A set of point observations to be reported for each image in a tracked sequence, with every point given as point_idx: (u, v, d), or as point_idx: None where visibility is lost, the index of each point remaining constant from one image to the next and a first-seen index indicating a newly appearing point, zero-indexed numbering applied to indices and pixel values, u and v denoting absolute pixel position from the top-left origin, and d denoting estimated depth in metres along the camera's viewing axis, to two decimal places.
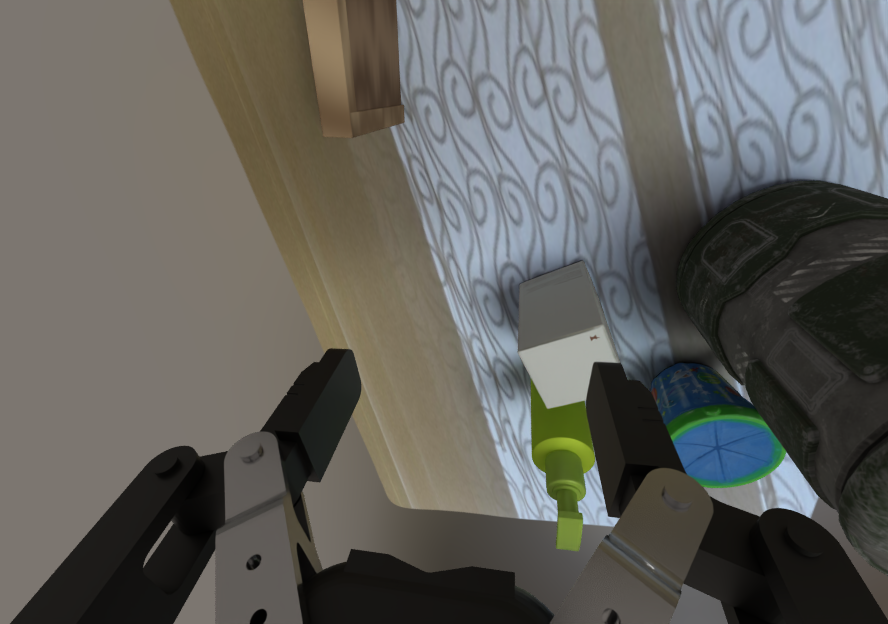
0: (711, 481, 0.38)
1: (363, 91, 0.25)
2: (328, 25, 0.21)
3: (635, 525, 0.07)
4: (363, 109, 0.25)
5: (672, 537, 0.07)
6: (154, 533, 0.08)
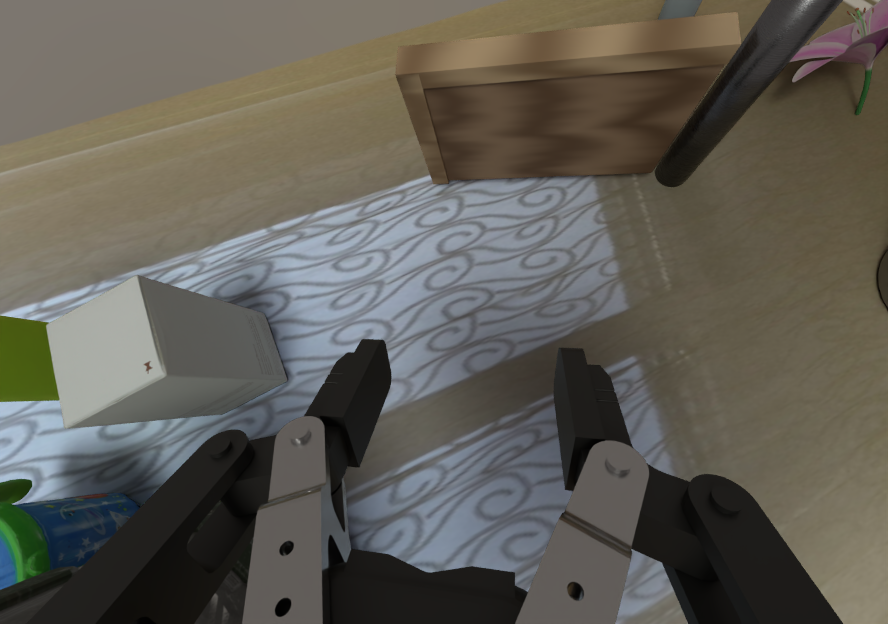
0: None
1: (445, 108, 0.25)
2: (492, 56, 0.21)
3: (586, 498, 0.07)
4: (429, 105, 0.24)
5: (618, 503, 0.07)
6: (200, 514, 0.08)
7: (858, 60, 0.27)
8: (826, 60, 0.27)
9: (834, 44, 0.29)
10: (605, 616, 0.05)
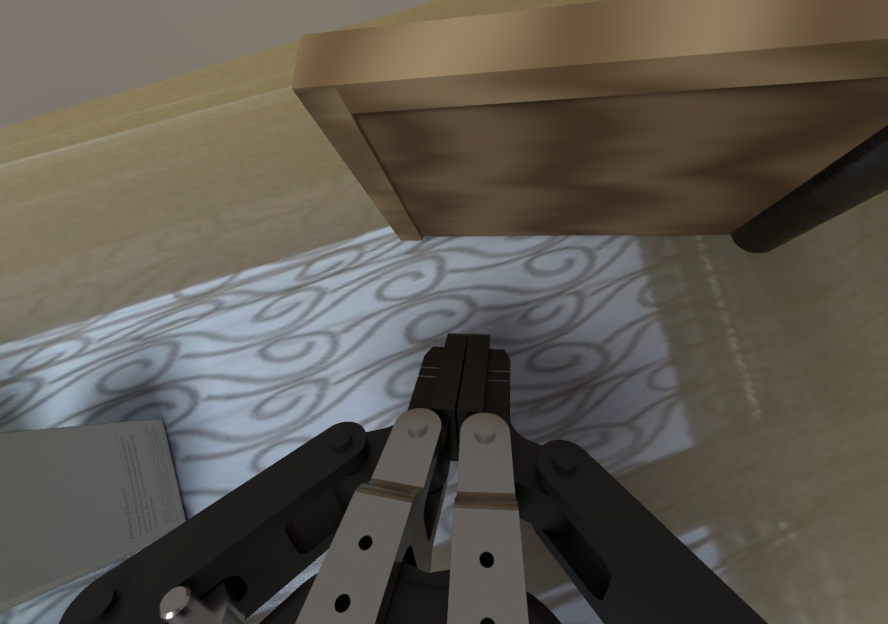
0: None
1: (399, 144, 0.14)
2: (476, 53, 0.11)
3: (469, 474, 0.08)
4: (369, 140, 0.14)
5: (495, 465, 0.08)
6: (304, 502, 0.08)
7: None
8: None
9: None
10: (515, 566, 0.06)
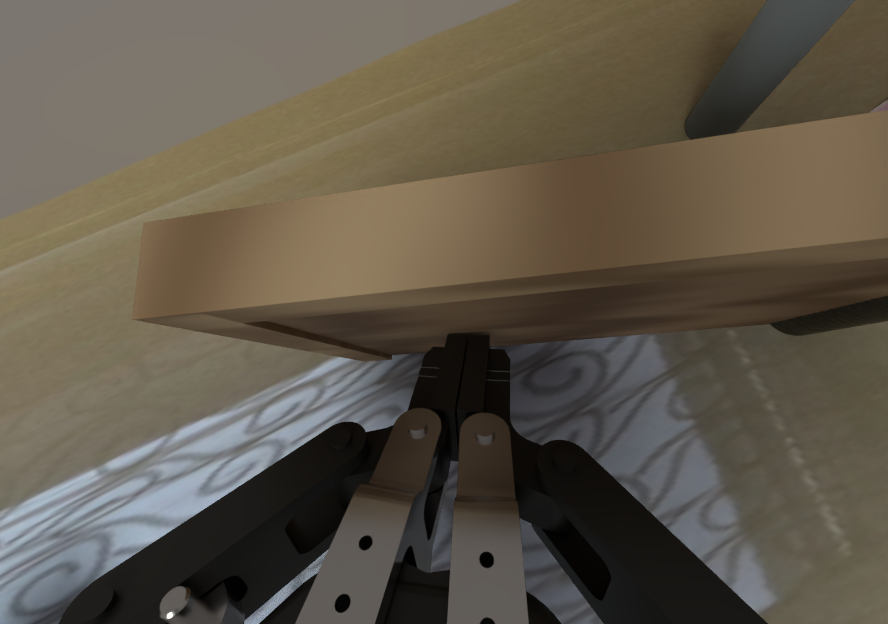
0: None
1: (332, 324, 0.10)
2: (423, 250, 0.06)
3: (469, 474, 0.08)
4: (288, 326, 0.10)
5: (495, 465, 0.08)
6: (304, 502, 0.08)
7: None
8: None
9: None
10: (514, 566, 0.06)
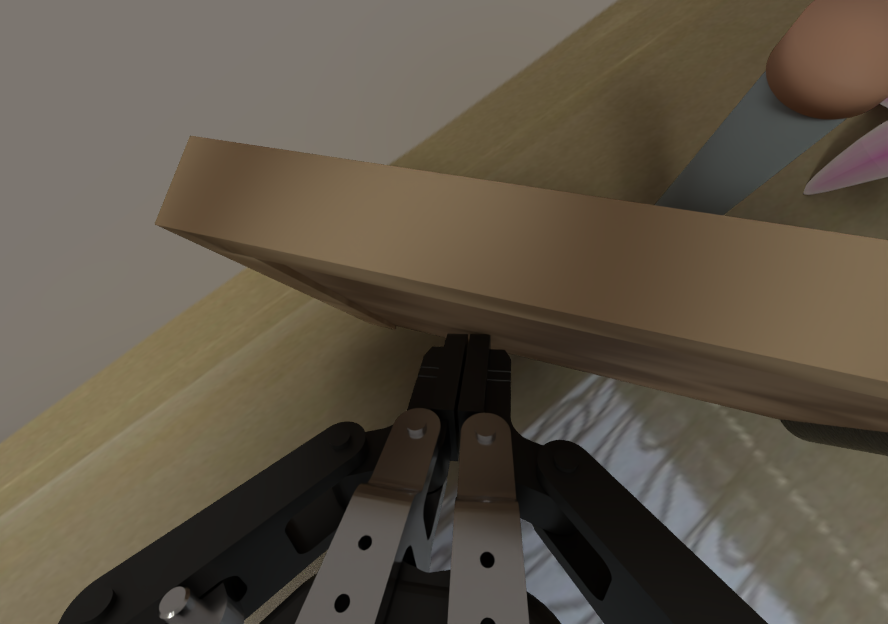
0: None
1: (339, 283, 0.10)
2: (434, 245, 0.06)
3: (470, 474, 0.08)
4: (298, 272, 0.10)
5: (495, 465, 0.08)
6: (303, 502, 0.08)
7: None
8: None
9: None
10: (515, 566, 0.06)
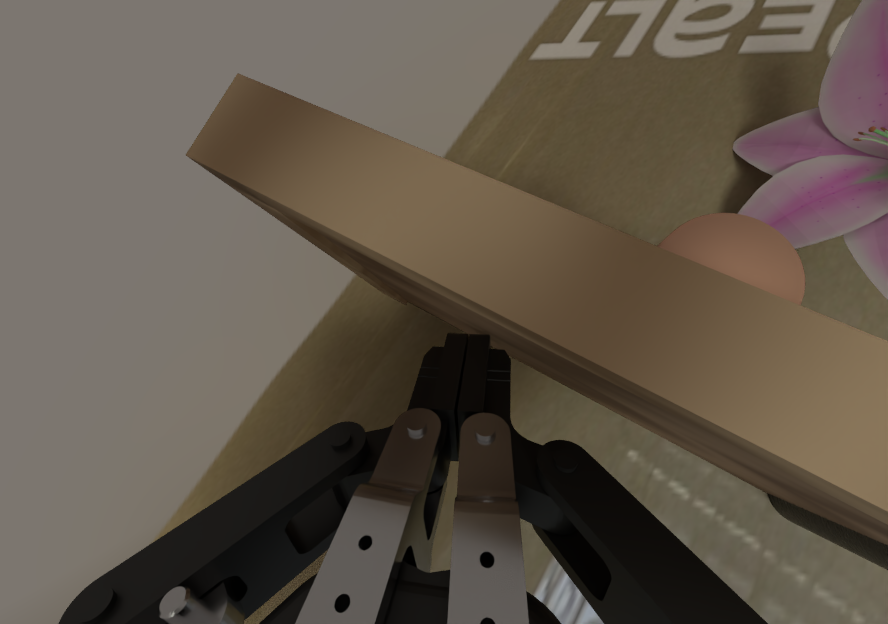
0: None
1: (354, 251, 0.10)
2: (446, 242, 0.06)
3: (470, 474, 0.08)
4: (317, 231, 0.10)
5: (495, 465, 0.08)
6: (304, 502, 0.08)
7: None
8: None
9: (821, 163, 0.15)
10: (515, 566, 0.06)
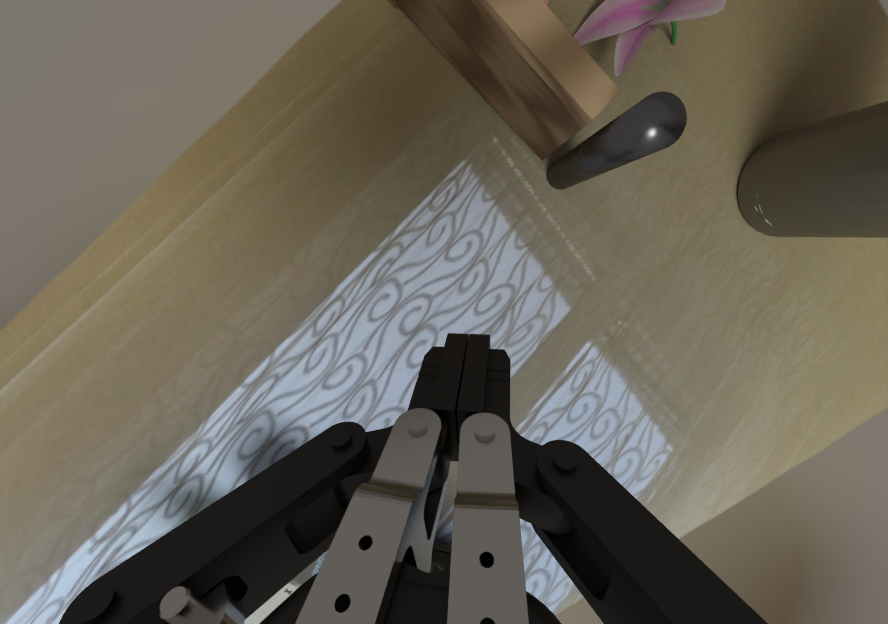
0: None
1: None
2: None
3: (469, 474, 0.08)
4: None
5: (495, 465, 0.08)
6: (304, 502, 0.08)
7: (660, 13, 0.28)
8: (635, 36, 0.27)
9: None
10: (515, 566, 0.06)
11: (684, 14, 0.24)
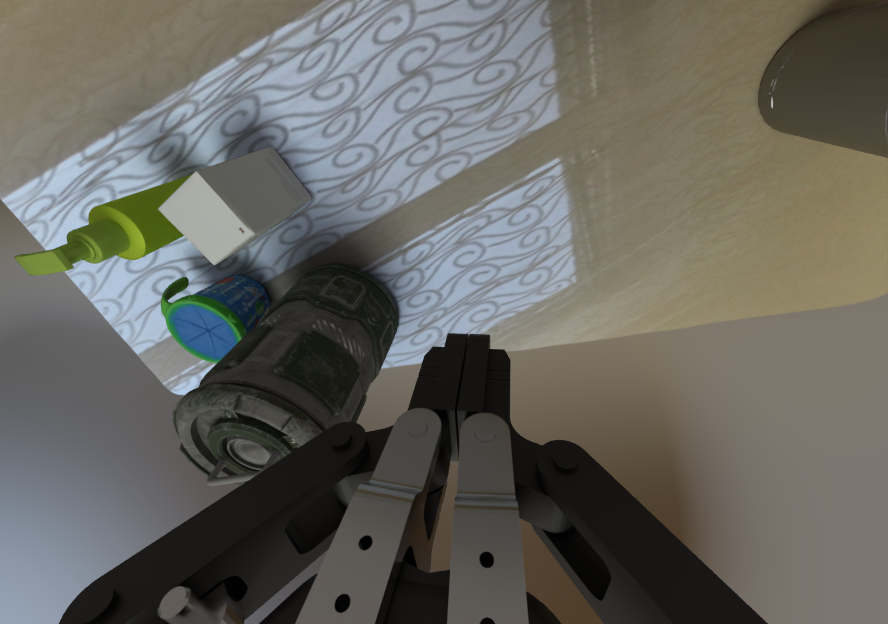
0: (179, 336, 0.50)
1: None
2: None
3: (469, 474, 0.08)
4: None
5: (495, 465, 0.08)
6: (304, 502, 0.08)
7: None
8: None
9: None
10: (515, 566, 0.06)
11: None
